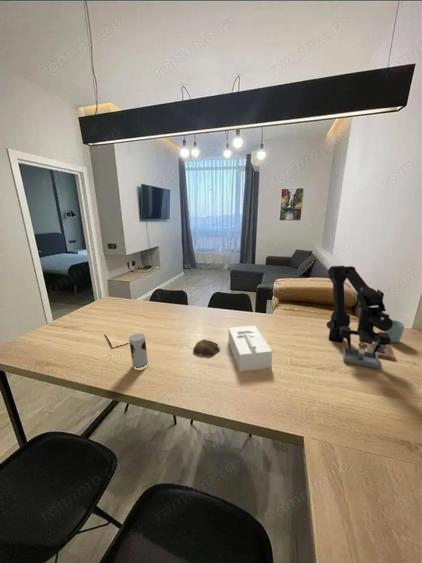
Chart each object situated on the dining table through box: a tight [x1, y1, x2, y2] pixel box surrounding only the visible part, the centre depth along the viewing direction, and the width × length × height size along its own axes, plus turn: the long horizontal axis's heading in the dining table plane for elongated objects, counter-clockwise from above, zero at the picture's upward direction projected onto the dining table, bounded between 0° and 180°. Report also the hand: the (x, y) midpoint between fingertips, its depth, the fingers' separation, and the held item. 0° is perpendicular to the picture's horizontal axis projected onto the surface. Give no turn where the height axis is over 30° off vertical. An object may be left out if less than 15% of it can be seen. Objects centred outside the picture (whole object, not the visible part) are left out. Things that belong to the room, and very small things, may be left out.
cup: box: [382, 319, 405, 344], centre depth 124 cm, size 8×8×10 cm
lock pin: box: [357, 342, 367, 360], centre depth 109 cm, size 3×3×8 cm
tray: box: [342, 346, 381, 371], centre depth 110 cm, size 14×10×2 cm
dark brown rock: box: [193, 338, 220, 356], centre depth 123 cm, size 13×12×5 cm
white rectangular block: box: [227, 325, 273, 371], centre depth 117 cm, size 14×25×11 cm, turn 7°
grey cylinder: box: [129, 333, 149, 368], centre depth 109 cm, size 7×7×15 cm
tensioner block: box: [365, 342, 396, 361], centre depth 117 cm, size 10×12×3 cm
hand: (361, 351), depth 109 cm, fingers open, 9 cm apart
